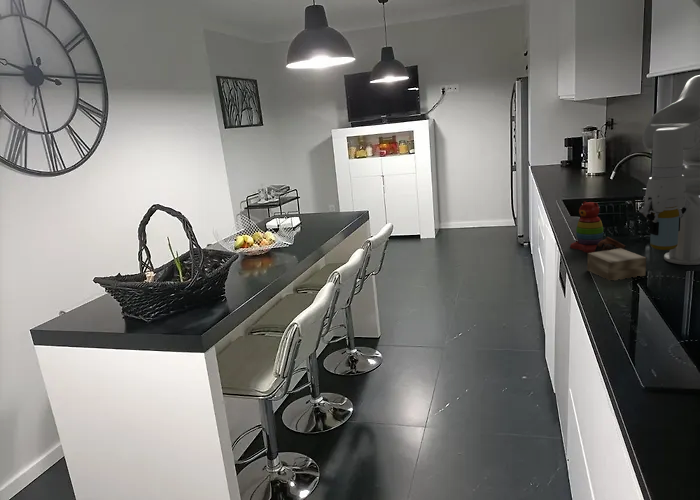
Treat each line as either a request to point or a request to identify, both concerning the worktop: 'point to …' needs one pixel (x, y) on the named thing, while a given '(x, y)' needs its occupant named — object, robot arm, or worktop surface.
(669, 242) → the bottle
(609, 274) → the chopping block
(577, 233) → the stacking bear
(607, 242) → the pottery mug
